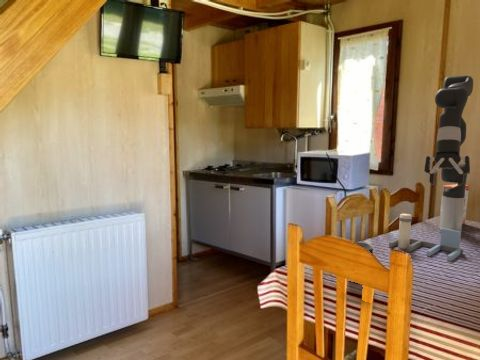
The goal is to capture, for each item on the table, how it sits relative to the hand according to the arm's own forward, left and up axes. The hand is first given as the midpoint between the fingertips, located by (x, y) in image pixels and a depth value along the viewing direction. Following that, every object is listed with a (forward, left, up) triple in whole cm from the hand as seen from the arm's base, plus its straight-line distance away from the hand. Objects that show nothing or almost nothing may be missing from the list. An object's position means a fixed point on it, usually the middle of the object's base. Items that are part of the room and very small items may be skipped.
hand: (445, 185), depth 138 cm
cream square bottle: (-22, -1, -30) cm, 37 cm away
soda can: (+10, -35, -30) cm, 48 cm away
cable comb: (-17, +6, -30) cm, 35 cm away
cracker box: (-54, +47, -30) cm, 78 cm away
